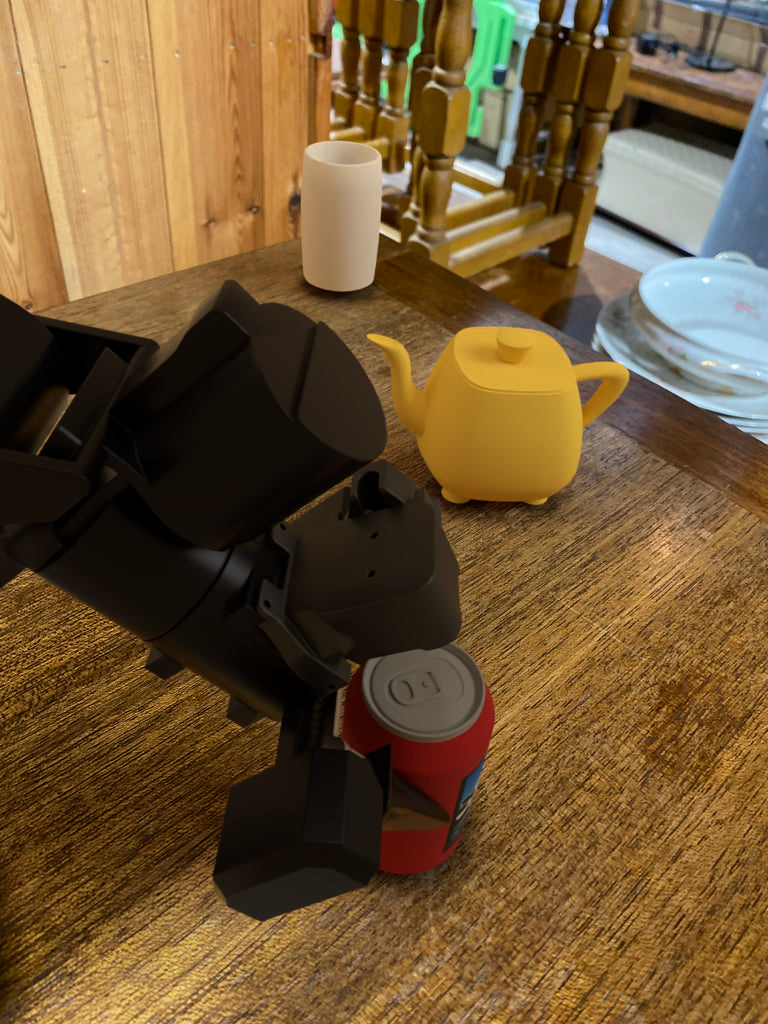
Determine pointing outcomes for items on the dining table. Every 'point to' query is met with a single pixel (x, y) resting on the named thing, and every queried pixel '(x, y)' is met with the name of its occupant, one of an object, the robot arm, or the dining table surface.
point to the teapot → (500, 412)
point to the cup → (340, 214)
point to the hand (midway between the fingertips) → (441, 753)
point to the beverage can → (424, 739)
